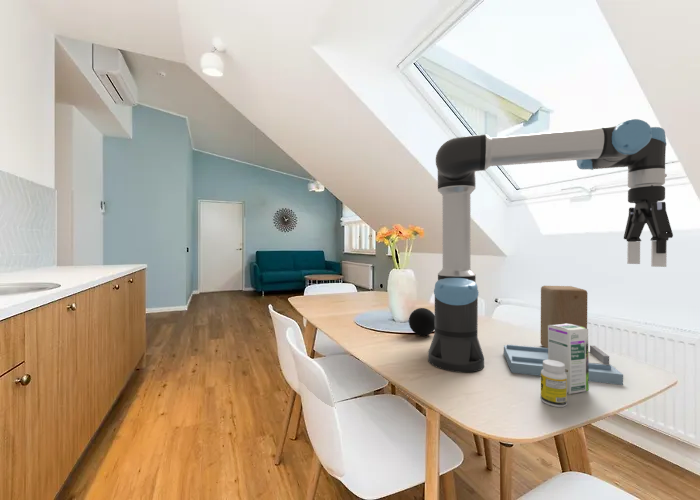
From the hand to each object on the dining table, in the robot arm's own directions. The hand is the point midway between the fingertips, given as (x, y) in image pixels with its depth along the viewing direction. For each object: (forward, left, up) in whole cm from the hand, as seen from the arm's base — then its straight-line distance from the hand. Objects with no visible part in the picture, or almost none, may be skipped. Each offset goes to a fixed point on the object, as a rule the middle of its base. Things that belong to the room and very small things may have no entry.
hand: (645, 265), depth 89 cm
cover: (-17, -8, -25) cm, 32 cm away
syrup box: (-24, -22, -28) cm, 43 cm away
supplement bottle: (-29, -31, -28) cm, 51 cm away
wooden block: (-17, +9, -28) cm, 34 cm away
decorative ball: (-61, +13, -28) cm, 68 cm away
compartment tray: (-23, -8, -28) cm, 37 cm away
